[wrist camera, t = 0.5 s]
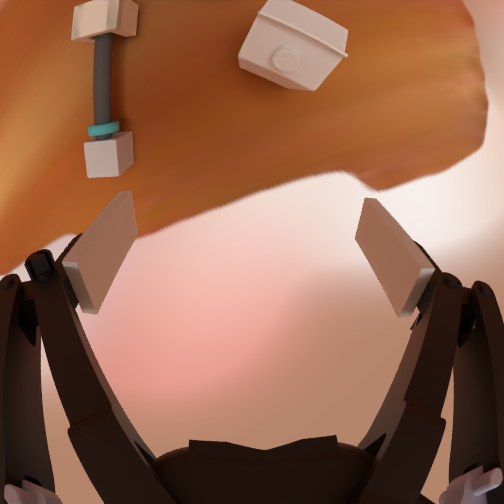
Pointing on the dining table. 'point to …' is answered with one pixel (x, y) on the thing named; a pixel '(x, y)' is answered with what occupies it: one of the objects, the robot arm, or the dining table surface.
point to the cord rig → (106, 121)
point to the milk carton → (292, 45)
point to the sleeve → (104, 19)
